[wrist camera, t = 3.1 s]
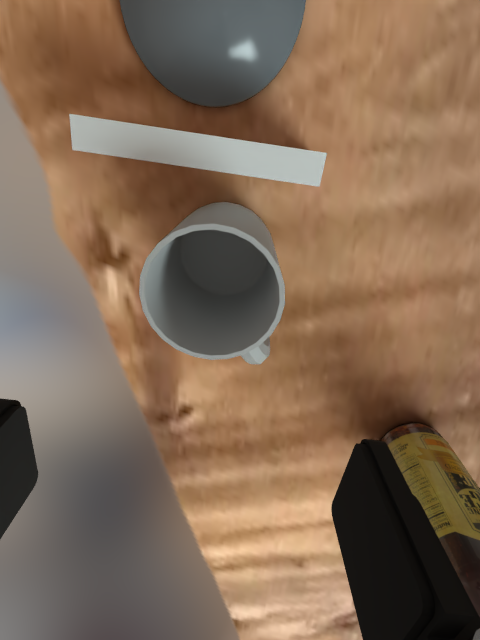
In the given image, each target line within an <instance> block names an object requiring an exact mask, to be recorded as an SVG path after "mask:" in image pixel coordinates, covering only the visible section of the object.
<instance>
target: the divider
mask: <svg viewBox="0 0 480 640" xmlns="http://www.w3.org/2000/svg"><path fill="white" fill-rule="evenodd" d="M69 115H70V127H71V139H72V150H77V151H83V152H90V153H97V154H104V155H110V156H117V157H124V158H130V159H137V160H144V161H151V162H157V163H164V164H171V165H177V166H184V167H191V168H198V169H204V170H211V171H218V172H224V173H231V174H238V175H245V176H251V177H258V178H265V179H271V180H278V181H285V182H292V183H298V184H305V185H312V186H318V187H319V186H320V181H321V177H322V173H323V168H324V164H325V159H326V155H327V153H323V152H317V151H310V150H303V149H297V148H290V147H284V146H277V145H271V144H264V143H258V142H251V141H244V140H238V139H231V138H225V137H218V136H212V135H205V134H199V133H192V132H186V131H179V130H172V129H166V128H159V127H153V126H146V125H140V124H133V123H127V122H120V121H113V120H107V119H100V118H94V117H87V116H81V115H74V114H69Z"/></svg>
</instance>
